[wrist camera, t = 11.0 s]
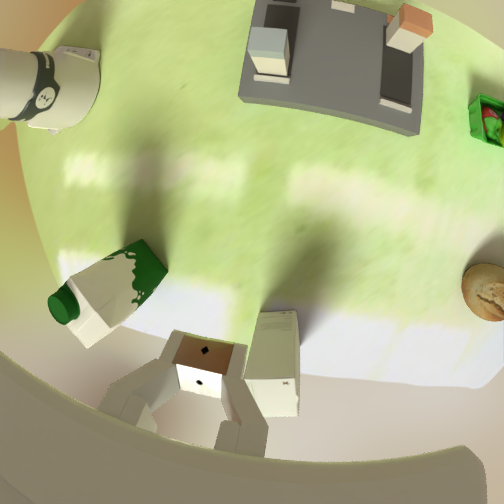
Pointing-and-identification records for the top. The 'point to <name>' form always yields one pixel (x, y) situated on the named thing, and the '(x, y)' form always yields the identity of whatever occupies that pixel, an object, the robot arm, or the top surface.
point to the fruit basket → (487, 120)
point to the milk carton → (107, 292)
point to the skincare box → (275, 364)
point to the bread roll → (485, 291)
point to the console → (338, 65)
